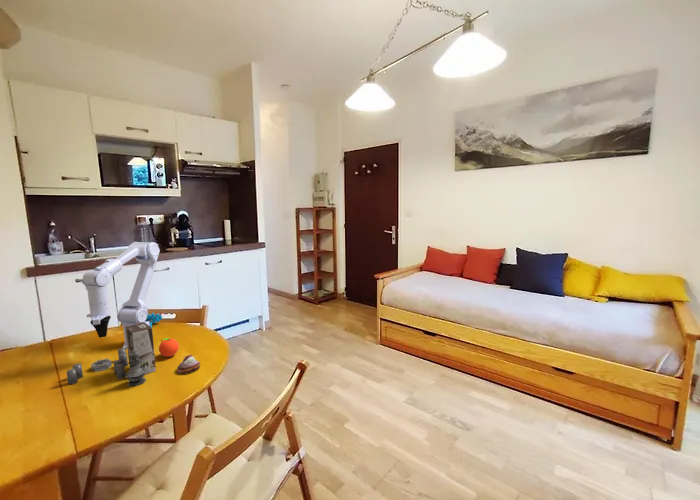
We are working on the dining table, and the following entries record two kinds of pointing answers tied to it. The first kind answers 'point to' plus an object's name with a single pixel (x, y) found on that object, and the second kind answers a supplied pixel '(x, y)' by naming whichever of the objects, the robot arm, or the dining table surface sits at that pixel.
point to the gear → (153, 318)
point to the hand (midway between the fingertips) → (102, 336)
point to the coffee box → (142, 344)
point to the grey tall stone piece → (135, 370)
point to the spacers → (118, 368)
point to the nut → (101, 365)
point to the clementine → (168, 347)
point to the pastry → (188, 365)
